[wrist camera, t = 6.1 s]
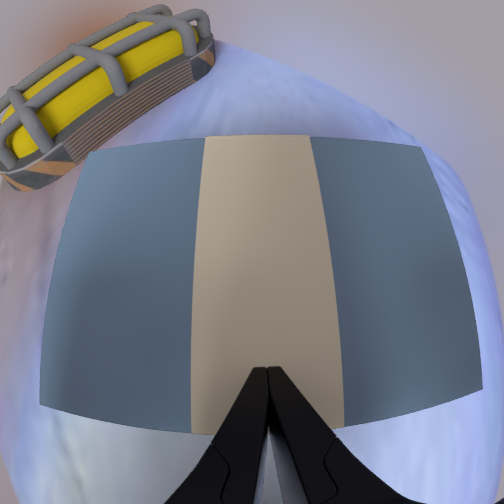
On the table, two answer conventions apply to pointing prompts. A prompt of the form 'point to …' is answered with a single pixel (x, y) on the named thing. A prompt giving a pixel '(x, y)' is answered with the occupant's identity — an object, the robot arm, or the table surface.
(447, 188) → the table surface
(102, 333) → the lid
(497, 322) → the table surface
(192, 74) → the cage light
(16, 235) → the table surface
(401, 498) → the robot arm
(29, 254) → the table surface
